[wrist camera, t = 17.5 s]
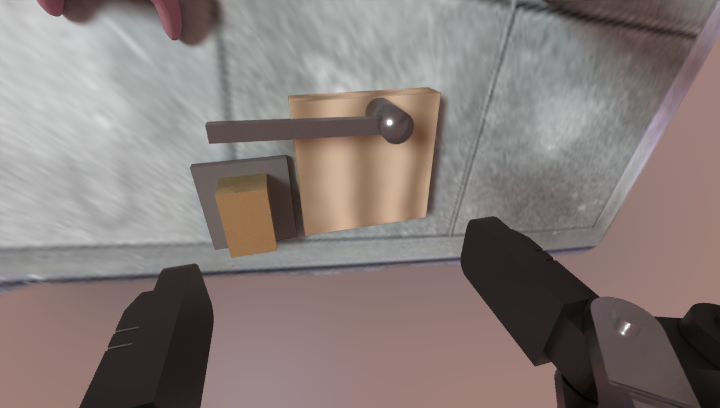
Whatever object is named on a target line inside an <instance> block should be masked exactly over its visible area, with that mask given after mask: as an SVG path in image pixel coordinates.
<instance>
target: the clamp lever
mask: <svg viewBox="0 0 720 408" xmlns="http://www.w3.org/2000/svg"><path fill="white" fill-rule="evenodd" d="M365 115H366V116H355V117H327V118H299V119H272V120H244V121H216V122H207V123H206V125H205V126H206V131H207V135H208V140H209V144H213V143H232V142H252V141H271V140H291V139H311V138H330V137H350V136H369V135H381V136H382V137H383V138H384V139H385V140H386V141H387V142H389V143H391V144H401V143H404V142H405V141H407V140H408V139H409V138H410V136H411V135H412V133H413V130H414V122H413V119H412V117H411V116H410V115H409V114H407V113H406V112H405V111H403V110H402V109H400V108H399V107H397V106H396V105H394V104H393V103H392V102H390V101H389V100H387V99H385V98H381V97H380V98H375V99H373V100H372V101H371V102H370V103H369V104H368V106H367V108H366V112H365Z"/></svg>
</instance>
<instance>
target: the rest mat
mask: <svg viewBox="0 0 720 408" xmlns="http://www.w3.org/2000/svg"><path fill="white" fill-rule="evenodd" d="M190 169H191V173H192V176H193V179H194V183H195V186H196V189H197V192H198V196H199V199H200V202H201V206H202V209H203V212H204V215H205V219H206V222H207V225H208V229H209V232H210V235H211V238H212V242H213V245H214V248H215V250H217V249H224V248H229V247H228V243H227V239H226V236H225V232H224V228H223V224H222V221H221V217H220V213H219V210H218V206H217V202H216V198H215V192H216V189H217V185H218V181H219V178H225V177H234V176H244V175H253V174H263V173H266V174H267V180H268V186H269V192H270V198H271V204H272V210H273V216H274V222H275V228H276V239H277V240H282V239H289V238H295V237H297V233H296V225H295V218H294V210H293V203H292V195H291V187H290V180H289V172H288V165H287V157H286V155H281V156H271V157H261V158H250V159H240V160H230V161H220V162H210V163H200V164H192V165H191V167H190Z"/></svg>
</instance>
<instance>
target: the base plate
mask: <svg viewBox="0 0 720 408" xmlns="http://www.w3.org/2000/svg"><path fill="white" fill-rule="evenodd" d="M440 95H441V93H440V92H438V91H435V90H433V89H431V88H412V89H395V90H379V91H362V92H345V93H329V94H312V95H295V96H288V99H289V108H290V116H291V119H299V118H327V117H355V116H366V115H365V112H366V108H367V106H368V104H369V103H370V102H371V101H372V100H373V99H375V98H380V97H381V98H385V99H387V100H389V101H390V102H392V103H393V104H394V105H396V106H397V107H399V108H400V109H402V110H403V111H405V112H406V113H407V114H409V115H410V116H411V117H412V119H413V122H414V130H413V133H412V135H411V136H410V138H409V139H408V140H407V141H405V142H404V143H401V144H391V143H389V142H387V141H386V140H385V139H384V138H383V137H382V136H381V135H369V136H350V137H330V138H311V139H293V142H294V150H295V159H296V168H297V176H298V185H299V193H300V202H301V210H302V219H303V226H304V231H305V236H306V235H313V234H319V233H326V232H332V231H339V230H345V229H352V228H358V227H365V226H371V225H378V224H384V223H390V222H397V221H403V220H410V219H416V218H423V217H426V210H427V202H428V194H429V186H430V177H431V169H432V161H433V153H434V144H435V136H436V128H437V120H438V111H439V103H440Z"/></svg>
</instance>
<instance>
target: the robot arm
mask: <svg viewBox="0 0 720 408" xmlns="http://www.w3.org/2000/svg"><path fill="white" fill-rule="evenodd" d="M547 1H588V0H547ZM461 267H462V270H463V273H464V275H465V276H466V278H467V279H468V280H469V282H470V283H471V284H472V285H473V287H474V288H475V289H476V290H477V292H478V293H479V295H480V296H481V297H482V298H483V300H484V301H485V302H486V304H487V305H488V306H489V307H490V309H491V310H492V311H493V313H494V314H495V315H496V317H497V318H498V319H499V320H500V322H501V323H502V324H503V326H504V327H505V328H506V330H507V331H508V332H509V333H510V335H511V336H512V337H513V339H514V340H515V341H516V343H517V344H518V345H519V346H520V347H521V349H522V350H523V351H524V353H525V354H526V355H527V357H528V358H529V359H530V361H531V362H532V363H533V364H534V366H538V365H542V364H545V363H549V362H552V363H553V364H554V365H555V366H556V368H557V369H556V371H555V375H554V380H555V389H556V399H557V408H720V305H716V304H710V303H698V304H695V305H693V306H692V307H691V308H690V310H689V311H688V312H687V313H686V315H685V316H684V317H683V318H669V317H668V318H667V317H654V316H652V315H651V314H650V313H648V312H647V311H645V310H644V309H642V308H641V307H639V306H637V305H635V304H633V303H631V302H628V301H626V300H623V299H619V298H614V297H599V296H598V295H596V294H595V293H594V292H593V291H592V290H591V289H590V288H588V287H587V286H586V285H585V284H584V283H582V282H581V281H580V280H579V279H578V278H576V277H575V276H574V275H573V274H572V273H570V272H569V271H568V270H567V269H565V267H563V266H562V265H561V264H560V263H559V262H558V261H554V260H553V257H552V256H550V255H549V254H548V253H547V252H546V251H543V250H542V248H541V247H540V246H539V245H537V244H536V243H535V242H534V241H533V240H531V239H530V238H529V237H527V236H525V235H523V234H521V233H519V232H517V231H515V230H513V229H510V228H509V227H508V226H507V225H505V224H504V223H503V222H502V221H501V220H500V219H498V218H497V217H494V216H492V217H485V218H479V219H473V220H470V221H469V223H468V225H467V229H466V234H465V238H464V243H463V248H462V253H461ZM213 320H214V316H213V309H212V304H211V300H210V298H209V295H208V292H207V289H206V286H205V283H204V280H203V278H202V275H201V272H200V269H199V267H198V265H197V264H189V265H183V266H176V267H170V268H165V269H163V270H162V271H161V273H160V276H159V278H158V281H157V283H156V286H155V288H154V291H149V292H143V293H141V294H140V295H139V296H138V297H137V298H136V299H135V300H134V301H133V302H132V303H131V304H130V306H128V307H127V309H126V310H125V311H124V313H123V315H122V317H121V319H120V321H119V324H118V326H117V328H116V334H113V337H112V339H111V341H110V343H109V345H108V351H105V354H104V356H103V358H102V360H101V363H100V364H99V366H98V369H97V371H96V373H95V375H94V377H93V380H92V381H91V384H90V386H89V388H88V390H87V392H86V394H85V396H84V399H83V401H82V403H81V405H80V407H79V408H200V406H201V400H202V393H203V387H204V381H205V375H206V369H207V363H208V356H209V350H210V344H211V337H212V331H213V323H214V321H213Z"/></svg>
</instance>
